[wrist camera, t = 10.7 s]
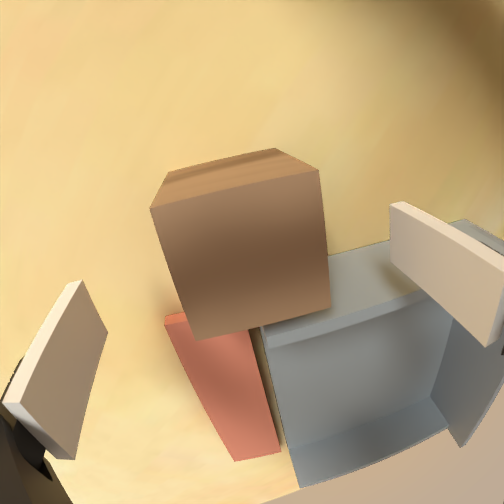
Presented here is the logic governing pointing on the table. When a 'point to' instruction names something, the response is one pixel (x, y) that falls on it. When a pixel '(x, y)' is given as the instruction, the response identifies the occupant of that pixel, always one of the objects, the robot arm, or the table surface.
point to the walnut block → (244, 241)
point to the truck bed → (377, 368)
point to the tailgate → (227, 387)
